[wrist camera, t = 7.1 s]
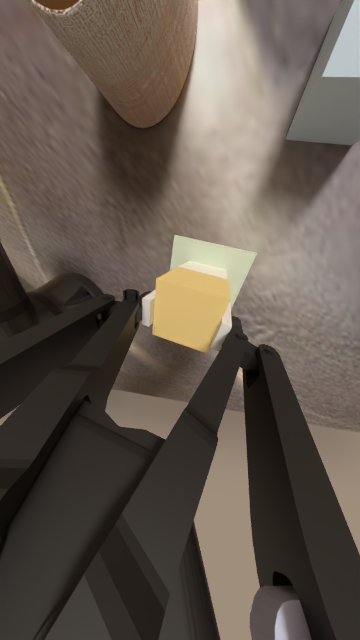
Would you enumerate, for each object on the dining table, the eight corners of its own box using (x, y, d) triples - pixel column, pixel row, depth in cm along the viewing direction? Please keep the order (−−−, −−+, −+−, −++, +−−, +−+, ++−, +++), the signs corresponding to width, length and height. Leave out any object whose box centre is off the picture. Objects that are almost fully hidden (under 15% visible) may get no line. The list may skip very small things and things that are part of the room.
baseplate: (167, 303, 26) (151, 319, 21) (176, 235, 20) (157, 231, 14) (224, 320, 25) (224, 344, 19) (255, 252, 18) (269, 256, 12)
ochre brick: (171, 309, 18) (152, 334, 14) (178, 266, 15) (156, 278, 10) (211, 322, 18) (207, 353, 13) (228, 279, 14) (231, 299, 9)
